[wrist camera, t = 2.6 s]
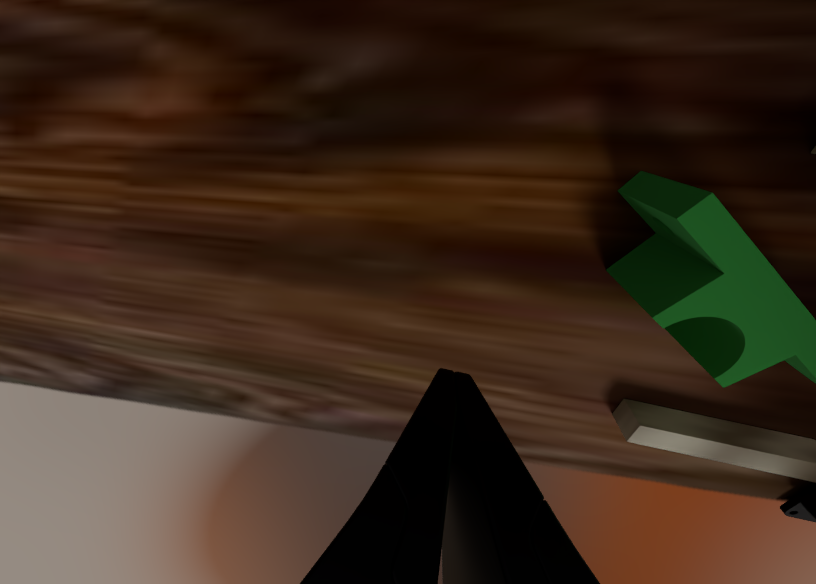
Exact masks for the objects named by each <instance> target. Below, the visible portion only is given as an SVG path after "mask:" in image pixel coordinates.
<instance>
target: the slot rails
mask: <svg viewBox="0 0 816 584" xmlns="http://www.w3.org/2000/svg"><path fill="white" fill-rule="evenodd" d="M811 153H813V154H816V146H815V147H814V149H813V150H812V151H811ZM612 415H613V417H614V419H615V420H616V422H617V424H618V426H619V428H620V430H621V432H622V433H623V435H624V437H625V439H626V441H627V442H632V443H636V444H641V445H646V446H650V447H655V448H659V449H664V450H669V451H673V452H678V453H682V454H687V455H692V456H696V457H701V458H705V459H710V460H715V461H719V462H724V463H728V464H733V465H738V466H742V467H747V468H751V469H756V470H761V471H765V472H770V473H774V474H779V475H784V476H788V477H793V478H797V479H802V480H807V481H811V482H816V440H814V439H810V438H805V437H801V436H796V435H791V434H787V433H782V432H777V431H773V430H768V429H764V428H759V427H754V426H750V425H745V424H740V423H736V422H731V421H726V420H722V419H717V418H712V417H708V416H703V415H698V414H694V413H689V412H684V411H680V410H675V409H670V408H666V407H661V406H656V405H652V404H647V403H642V402H638V401H633V400H628V399H623V400H622V402H621V403H620V404H619V406H618V407H617V408H616V409H615V411H614V412H613V413H612Z"/></svg>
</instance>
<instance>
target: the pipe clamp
mask: <svg viewBox="0 0 816 584" xmlns="http://www.w3.org/2000/svg"><path fill="white" fill-rule="evenodd" d="M618 192H619V193H620V194H621V195H622V196H623V198H624V199H625V200H626V201H627V202H628V203H629V204H630V205H631V206H632V207H633V209H634V210H635V211H636V212H637V213H638V214H639V215H640V216H641V217H642V218H643V219H644V221H645V222H646V223H647V224H648V225H649V226H650V227H651V228H652V229H653V230H654V232H655V234H654V235H653V236H651V237H650V238H649V239H647V240H646V241H645V242H643V243H642V244H640V245H639V246H638V247H636V248H635V249H634V250H632V251H631V252H630V253H628V254H627V255H625V256H624V257H623V258H621V259H620V260H619V261H617V262H616V263H615V264H613V265H612V266H610V267H609V268H608V269H606V271H607V272H608V273H609V274H610V275H611V276H612V277H613V278H614V279H615V280H616V281H617V282H618V283H619V284H620V285H621V286H622V287H623V288H624V289H625V290H626V291H627V292H628V293H629V294H630V295H631V296H632V297H633V298H634V299H635V300H636V302H637V303H638V304H639V305H640V306H641V307H642V308H643V309H644V310H645V311H646V312H647V313H648V314H649V315H650V316H651V317H652V318H653V319H654V320H655V321H656V322H657V323H658V324H659V325H660V326H661V327H662V328H665V329H666V330H667V331H668V332H669V333H670V334H671V335H672V336H673V337H674V338H675V339H676V340H677V341H678V342H679V343H680V344H681V345H682V346H683V348H684V349H685V350H686V351H687V352H688V353H689V354H690V355H691V356H692V357H693V358H694V359H695V360H696V361H697V362H698V363H699V364H700V365H701V366H702V367H703V368H704V369H705V370H706V371H707V372H708V373H709V374H710V375H711V376H712V377H713V378H714V379H715V380H716V381H717V382H718V383H719V384H720V385H721V386H722V387H723V388H724V387H727V386H729V385H731V384H733V383H735V382H738V381H740V380H742V379H744V378H746V377H748V376H751V375H753V374H755V373H757V372H759V371H762V370H764V369H766V368H768V367H770V366H773V365H775V364H777V363H779V362H781V361H786V362H787V363H788V364H790V365H791V366H793V367H794V368H795V369H797V370H798V371H799V372H801V373H802V374H803V375H805V376H806V377H807V378H809V379H810V380H811V381H813V382H814V383H815V384H816V320H815V319H814V317H813V316H812V315H811V314H810V312H809V311H808V310H807V309H806V307H805V306H804V305H803V304H802V303H801V301H800V300H799V299H798V298H797V296H796V295H795V294H794V293H793V291H792V290H791V289H790V288H789V286H788V285H787V284H786V283H785V282H784V280H783V279H782V278H781V277H780V275H779V274H778V273H777V272H776V270H775V269H774V268H773V267H772V265H771V264H770V263H769V262H768V261H767V259H766V258H765V257H764V256H763V254H762V253H761V252H760V251H759V249H758V248H757V247H756V246H755V244H754V243H753V242H752V241H751V239H750V238H749V237H748V236H747V235H746V233H745V232H744V231H743V230H742V228H741V227H740V226H739V225H738V223H737V222H736V221H735V220H734V218H733V217H732V216H731V215H730V214H729V212H728V211H727V210H726V209H725V207H724V206H723V205H722V204H721V202H720V201H719V200H718V199H717V197H716V196H715V195H714V194H713V193H712V192H709V191H706V190H702V189H699V188H696V187H693V186H689V185H686V184H683V183H679V182H676V181H673V180H670V179H666V178H663V177H660V176H657V175H653V174H650V173H647V172H644V171H640V172H639V173H638V174H637V175H635V176H634V177H633V178H632V179H631V180H630V181H628V182H627V183H626V184H625V185H624V186H622V187H621V188H620V189H619V190H618Z"/></svg>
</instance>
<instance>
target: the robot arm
mask: <svg viewBox="0 0 816 584" xmlns="http://www.w3.org/2000/svg"><path fill="white" fill-rule="evenodd" d="M543 499H544V497H543V495H542V493H541V491H540V490H539V488H538V486H537V485H536V483H535V481H534V480H533V478H532V477H531V475H530V473H529V472H528V470H527V469H526V467H525V465H524V463H523V462H522V460H521V458H520V457H519V455H518V453H517V452H516V450H515V448H514V447H513V445H512V443H511V442H510V440H509V438H508V437H507V435H506V433H505V432H504V430H503V428H502V427H501V425H500V423H499V422H498V420H497V418H496V417H495V415H494V413H493V412H492V410H491V408H490V407H489V405H488V403H487V402H486V400H485V398H484V397H483V395H482V394H481V392H480V390H479V389H478V387H477V385H476V384H475V382H474V380H473V379H472V377H471V376H470V375H469V374H466V373H461V372H455V373H454V372H453V371H452V370H447V369H443V368H440V369H439V370H438V371H437V373H436V375H435V377H434V378H433V380H432V382H431V384H430V385H429V387H428V389H427V391H426V392H425V394H424V396H423V398H422V399H421V401H420V403H419V405H418V406H417V408H416V410H415V411H414V413H413V415H412V417H411V418H410V420H409V422H408V424H407V425H406V427H405V429H404V431H403V432H402V434H401V436H400V438H399V439H398V441H397V443H396V445H395V446H394V448H393V450H392V452H391V453H390V455H389V457H388V459H387V460H386V462H385V465H383V467H382V469H381V470H380V472H379V474H378V476H377V477H376V479H375V481H374V482H373V484H372V486H371V487H370V489H369V490H368V492H367V494H366V495H365V497H364V498H363V500H362V501H361V503H360V504H359V506H358V507H357V508H356V510H355V511H354V513H353V514H352V515H351V517H350V518H349V520H348V521H347V522H346V524H345V525H344V526H343V528H342V529H341V530H340V532H339V533H338V534H337V536H336V537H335V538H334V540H333V541H332V542H331V544H330V545H329V546H328V547H327V549H326V550H325V551H324V553H323V554H322V555H321V557H320V558H319V559H318V561H317V562H316V563H315V565H314V566H313V567H312V568H311V570H310V571H309V573H308V574H307V575H306V576H305V578H304V579H303V580H302V581H301V583H300V584H438V575H439V566H440V557H441V549H442V575H443V584H600V583H599V581H598V580H597V579H596V577H595V576H594V574H593V573H592V571H591V570H590V568H589V567H588V565H587V564H586V562H585V561H584V560H583V558H582V557H581V555H580V554H579V552H578V551H577V549H576V548H575V546H574V545H573V543H572V541H571V540H570V538H569V537H568V535H567V534H566V532H565V531H564V529H563V527H562V526H561V524H560V522H559V521H558V519H557V518H556V516H555V514H554V513H553V511H552V509H551V508H550V506H549V504H548V503H547V501H546V500H543ZM780 509H781V510H782V511H783V512H784V514H785V515H786V516H789V517H794V518H799V519H803V520H808V521H813V522H816V483H814V484H813V485H811V486H810V487H808V488H807V489H805V490H804V491H802V492H801V493H799V494H798V495H796V496H795V497H793V498H792V499H790V500H789V501H787V502H786V503H784V504H783V505H781V506H780Z"/></svg>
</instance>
